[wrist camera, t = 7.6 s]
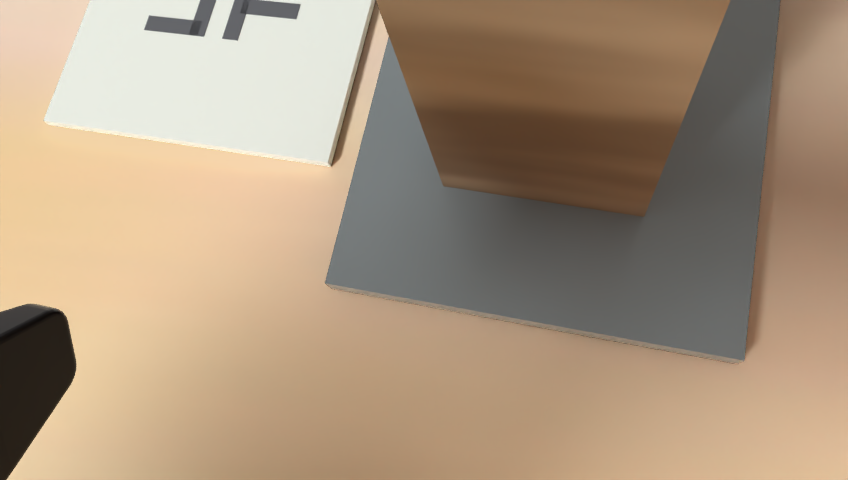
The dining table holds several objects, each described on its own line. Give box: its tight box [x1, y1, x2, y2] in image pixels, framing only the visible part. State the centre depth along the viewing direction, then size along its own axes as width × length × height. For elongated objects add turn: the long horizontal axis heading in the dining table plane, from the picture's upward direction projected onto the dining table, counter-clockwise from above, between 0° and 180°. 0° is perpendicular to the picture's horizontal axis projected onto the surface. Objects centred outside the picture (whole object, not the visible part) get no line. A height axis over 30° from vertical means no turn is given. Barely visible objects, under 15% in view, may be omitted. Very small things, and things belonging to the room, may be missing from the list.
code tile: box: [44, 0, 375, 167], centre depth 22 cm, size 9×9×1 cm
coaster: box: [325, 0, 780, 364], centre depth 19 cm, size 10×10×1 cm
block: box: [376, 0, 730, 217], centre depth 14 cm, size 4×5×10 cm
